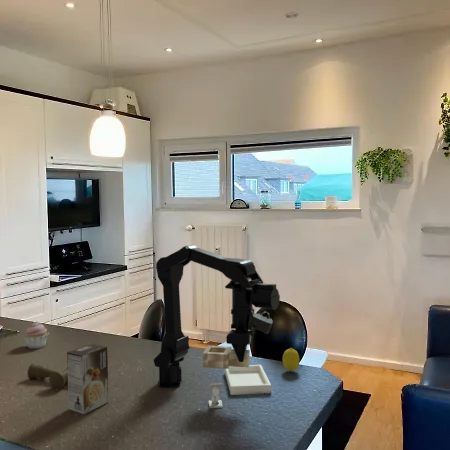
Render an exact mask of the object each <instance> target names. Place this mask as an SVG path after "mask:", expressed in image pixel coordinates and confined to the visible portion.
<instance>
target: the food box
mask: <svg viewBox="0 0 450 450" xmlns="http://www.w3.org/2000/svg"><path fill="white" fill-rule="evenodd" d="M66 354H67V355H66V357H67V360H66V361H67V367H68V381H67V390H68V392H67V393H68V395H67V396H68V410H70V411H73V412H76V413H78V414H82V415H85V414H88V413H89V412H91V411H93V410H95V409H97V408H100V407H101V406H103V405H106V404H108V403H109V366H108V365H109V364H108V363H109V361H108V346H106V345H105V346H104V345H101V344H95V343H90V344H86V345H84V346H81V347H78V348H75V349H72V350H69V351H67V352H66Z"/></svg>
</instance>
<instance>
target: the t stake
mask: <svg viewBox="0 0 450 450" xmlns="http://www.w3.org/2000/svg"><path fill="white" fill-rule="evenodd" d="M223 386H224V385H223V382H213V383H211V382H210V388H211V400H209V399H208V408H209V409H221V408H222V409H223V401H222V399H220V388H223Z"/></svg>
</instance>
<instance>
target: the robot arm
mask: <svg viewBox="0 0 450 450" xmlns="http://www.w3.org/2000/svg"><path fill="white" fill-rule="evenodd" d="M191 262H193V263H197V264H199V265H201V266H204V267H207V268H210V269H212V270H216V271H218V272H220V273H221V274H223V275H224V277H226V278H227V279H229V282H228V284H226V285H225V286H224V288H225V289H229V290H231V297H232V298H231V309H230V314H231V324H230V331H229V332H228V333H227V335H226V344H227V345H228V344H229V345H231V348H232V349H234V351H235V353H236V355H237V358H238V360H239V362H243V360H244V355H245V350H248V345H250V344H251V342H252V337H253V336H254V333H255V331H253V329H254V330H258V331H260V332H262V333H263V334H266V335H268V334H269V333H270V330H271V328H272V327H273V326H272V325H273V322H274V320H273V319H272V318H271V317H270V313H269V312H267V311H266V310H265V311H263V312H262V313H256V312H255V308H259V309H268V310H277V309H278V307H279V305H280V300H281V295H280V293H279V290H278V288H277V283H264V281H263V279H262V278H261V276H260V274H259V273H258V272H257V270H256V266H255V264H254V262H253V261H252V260H250V259H244V258H235V257H234V258H233V257H226V256H224V255H220V254H217V253H214V252H211V251H209V250H206V249H204V248H200V247H197V246H196V245H194V244H191V245H185V246H182V247H181V248H180V249H179V250H177V251H175V252H173V253H171V254H169V255H167V256H164V257H160V258H159V259H158V260H157V261H156V264H155V269H156V273H157V274H156V275H157V278H158V280H159V281H160V284H161V285H162V293H163V294H162V295H163V309H164V312H163V313H164V314H163V315H164V327H165V329H164V330H165V333H164V335H163V338H162V340H161V345H160V352H159V353H158V354H157V356H156V357H154V358H153V364H154V366H155V367H156V368H158V388H168V387H171V388H173V387H180V386H181V383H182V382H183V381H182V366H180V363H181V362H183V361H184V360H185V357H186V356H187V355H188V353H189V349H190V343H189V341H190V340H189V339H190V338H189V335H185V334H184V332H183V331H182V317H181V316H182V314H181V300H180V299H181V298H180V283H181V280H182V278H183V275H184V267H186V266H187V265H189V263H191ZM254 307H255V308H254Z"/></svg>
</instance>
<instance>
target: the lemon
mask: <svg viewBox="0 0 450 450" xmlns="http://www.w3.org/2000/svg"><path fill="white" fill-rule="evenodd" d="M282 364H283V367H284V368H285V370H286V369H287V370H288V372H290V373H292V372H293V371H295V370H296V369H297V368H299V364H300V355H299V353H298V351H297V350H295V349H294V348H292V347H290V348H288V349H286V350H285V351H284V352H283V355H282Z"/></svg>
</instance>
